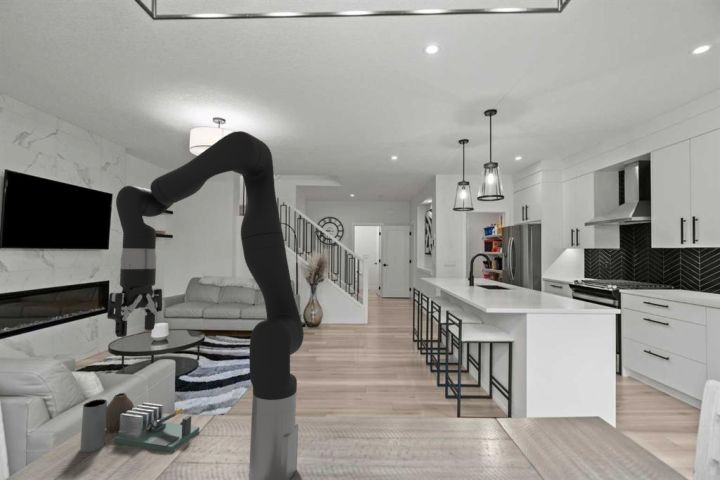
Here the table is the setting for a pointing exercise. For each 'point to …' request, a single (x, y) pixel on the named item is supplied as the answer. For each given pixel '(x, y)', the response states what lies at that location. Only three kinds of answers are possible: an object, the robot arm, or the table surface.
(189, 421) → the block
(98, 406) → the planter
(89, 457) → the table surface
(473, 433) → the table surface
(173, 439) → the board
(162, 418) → the blue-grey flat piece
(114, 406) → the vase
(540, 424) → the table surface
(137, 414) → the heatsink
